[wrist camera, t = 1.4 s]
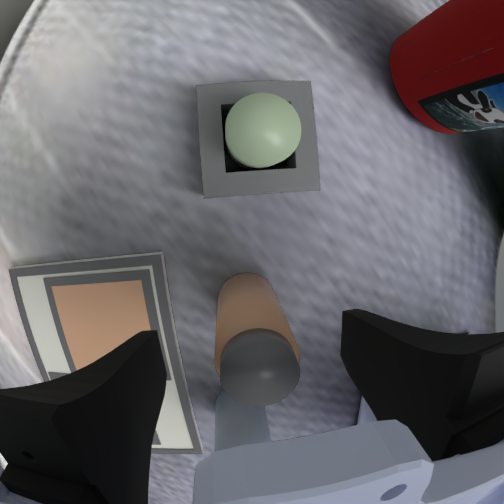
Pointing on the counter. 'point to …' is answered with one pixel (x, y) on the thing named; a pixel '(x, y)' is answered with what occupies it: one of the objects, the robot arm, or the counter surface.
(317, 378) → the counter surface
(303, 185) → the button housing
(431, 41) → the beverage can
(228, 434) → the cylinder
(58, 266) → the picture card
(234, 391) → the terracotta marker
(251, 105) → the button
